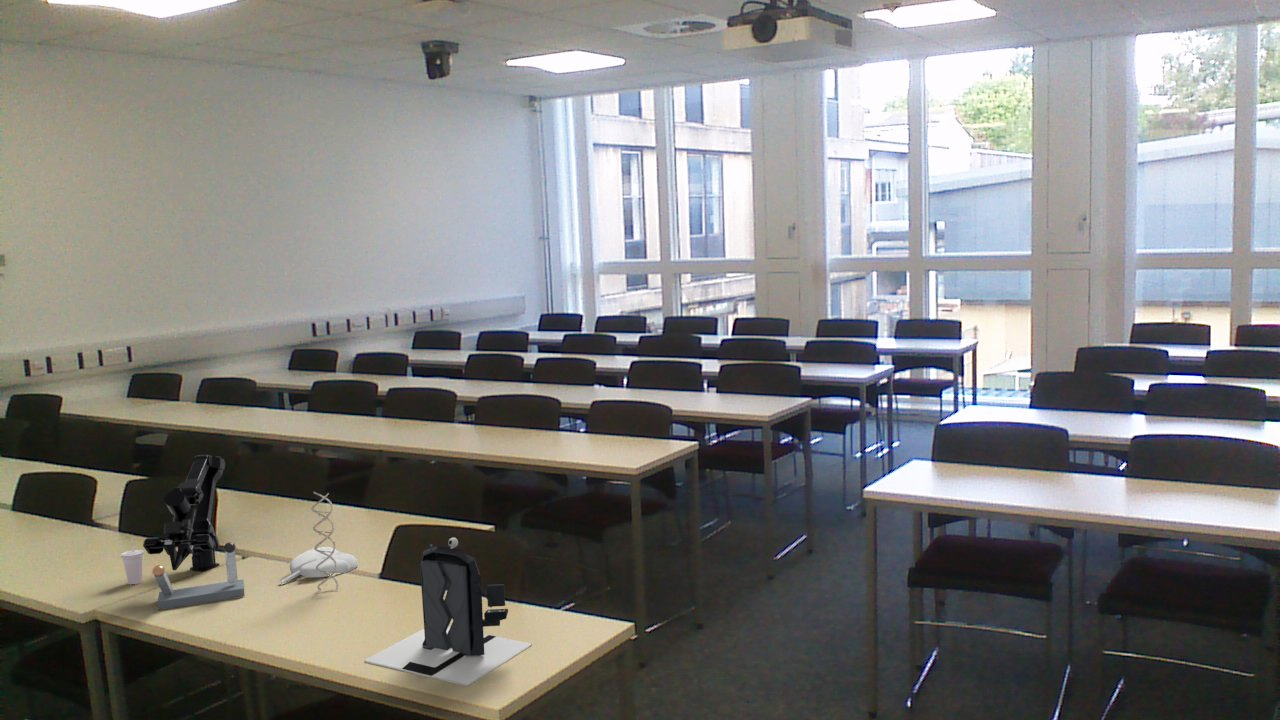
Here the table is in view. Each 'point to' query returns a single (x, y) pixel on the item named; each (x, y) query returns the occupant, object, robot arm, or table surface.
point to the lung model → (312, 558)
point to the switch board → (201, 594)
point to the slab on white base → (462, 645)
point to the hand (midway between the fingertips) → (174, 569)
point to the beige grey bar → (231, 562)
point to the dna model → (325, 539)
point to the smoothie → (133, 564)
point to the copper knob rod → (162, 580)
